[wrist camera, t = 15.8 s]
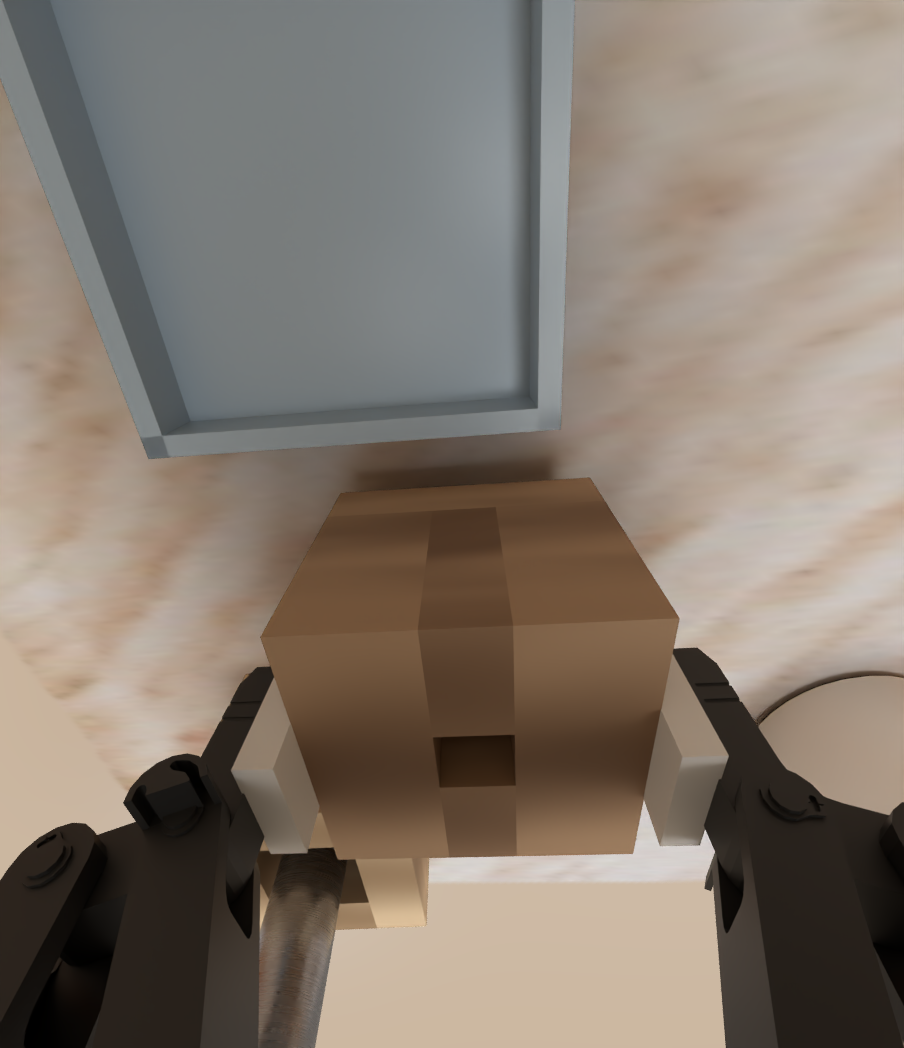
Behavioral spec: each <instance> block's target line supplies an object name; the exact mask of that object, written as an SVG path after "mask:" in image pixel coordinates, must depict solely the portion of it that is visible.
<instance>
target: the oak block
mask: <svg viewBox="0 0 904 1048" xmlns="http://www.w3.org/2000/svg"><path fill="white" fill-rule="evenodd" d="M249 675H250V674H246V675H245V677H244V679H243V681H244V680H245V679H246V678H247V677H248V676H249ZM243 681H242V682H243ZM230 705H231V703H230ZM230 705H229V706H230ZM221 722H222V720H221ZM330 847H333V844H332V841H331V839H330V836H329V833H328V830H327V827H326V824H325V821H324V819H323V816H322V813H321V810H320V807H319V810H318V814H317V818H316V822H315V826H314V829H313V833H312V837H311V841H310V844H309V848H330ZM309 848H308V849H309ZM281 857H282V854H271V853H270V851H269V849H268V847H267V845H266V843H265V841H264V840H263V843H262V846H261V848H260V851H259V854H258V857H257V860H256V862H257V864H258V867H259V872H260V929H261V925H262V922H263V918H264V915H265V911H266V908H267V905H268V901H269V898H270V894H271V891H272V887H273V884H274V881H275V877H276V874H277V870H278V867H279V863H280V860H281ZM428 875H429V858H397V859H348V860H347V866H346V872H345V877H344V883H343V889H342V895H341V900H340V906H339V912H338V918H337V923H336V929H335V930H342V929H343V930H344V929H368V928H394V927H417V926H418V927H419V926H426V925H427V899H428Z"/></svg>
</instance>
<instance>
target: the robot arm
mask: <svg viewBox="0 0 904 1048" xmlns="http://www.w3.org/2000/svg"><path fill="white" fill-rule="evenodd" d="M230 703H231V705H230V706H228V708H227V710H226V711H225V713H224V715H223V717H222V722H220V723H219V724H218V726H217V728H216V730H215V732H214V734H213V736H212V737H211V739H210V741H209V743H208V745H207V747H206V749H205V750H204V752H203V754H202V756H201V758H200V757H199V756H196V755H192V754H182V755H176V756H172V757H170V758H167V759H165V760H163V761H161V762H159V763H157V764H155V765H154V766H153V767H151V768H150V769H149V770H147V771H146V772H145V773H143V774H142V775H141V776H140V777H139V779H138V780H137V781H136V782H135V783H134V784H133V786H132V787H131V788H130V790H129V792H128V794H127V796H126V798H125V800H124V802H123V803H124V805H125V806H126V808H127V809H128V811H129V812H130V814H131V815H132V816H133V818H134V819H135V821H136V822H134V823H131V824H128V825H125V826H122V827H119V828H116V829H114V830H111V831H108V832H105V833H102V834H99V835H96V833H95V832H94V831H93V830H92V829H91V828H90V827H89V826H87V825H86V824H82V823H70V824H67V825H64V826H61V827H57V828H55V829H53V830H52V831H50V832H48V833H46V834H45V835H43V836H41V837H39V838H38V839H37V840H36V841H34V842H33V843H32V844H31V845H30V846H29V847H27V848H26V849H25V850H24V851H23V852H22V853H21V854H20V855H19V856H18V857H17V859H16V860H15V861H14V863H12V865H11V866H10V867H9V868H8V870H7V871H6V873H5V874H4V876H3V877H2V879H1V880H0V1048H258V1036H259V953H260V872H259V867H258V864H257V862H256V860H257V857H258V854H259V851H260V848H261V846H262V843H263V840H264V841H265V843H266V845H267V847H268V849H269V851H270V853H271V854H292V853H307V852H308V848H309V844H310V841H311V837H312V833H313V829H314V826H315V822H316V818H317V814H318V810H319V807H320V806H319V803H318V800H317V797H316V795H315V792H314V789H313V786H312V783H311V780H310V777H309V774H308V772H307V769H306V766H305V763H304V760H303V757H302V754H301V751H300V749H299V746H298V743H297V740H296V737H295V734H294V731H293V728H292V726H291V723H290V721H289V718H288V715H287V712H286V709H285V707H284V704H283V701H282V698H281V695H280V692H279V689H278V686H277V684H276V681H275V678H274V675H273V672H272V669H271V667H257V668H256V669H255V670H254V671H253V672H252V673H251V674H250V675H249V676H248V677H247V678H246V679H245V680H244V681H243V682H242V683H241V684H240V685H239V687H238V689H237V691H236V693H235V695H234V697H233V698H232V700H231V702H230ZM644 801H645V804H646V807H647V810H648V812H649V815H650V818H651V821H652V824H653V827H654V830H655V833H656V836H657V839H658V841H659V844H660V846H688V845H700V843H701V840H702V837H703V834H704V831H705V830H706V832H707V834H708V836H709V839H710V841H711V843H712V846H713V848H714V850H715V854H714V857H713V859H712V862H711V865H710V868H709V870H708V873H707V876H706V882H705V889H707V890H710V891H711V889H712V887H713V888H714V901H715V914H716V926H717V939H718V951H719V965H720V977H721V991H722V1004H723V1015H724V1016H723V1017H724V1029H725V1041H726V1042H725V1043H726V1048H904V1045H903V1042H904V802H902V803H900V804H899V805H898V806H897V807H896V808H895V809H893V810H892V812H891V814H890V815H886V814H883V813H879V812H875V811H871V810H867V809H864V808H860V807H856V806H852V805H848V804H844V803H841V802H838V801H835V800H832V799H829V798H827V797H825V796H823V795H822V794H821V793H820V792H819V791H818V790H817V789H816V788H815V787H814V786H813V785H812V784H811V783H810V782H808V781H807V780H805V779H804V778H802V777H801V776H799V775H798V774H796V773H794V772H792V771H789V770H787V769H786V768H785V766H784V765H783V764H782V763H781V761H780V760H779V758H778V757H777V755H776V754H775V752H774V751H773V749H772V748H771V746H770V745H769V743H768V741H767V740H766V738H765V737H764V735H763V734H762V732H761V731H760V729H759V728H758V726H757V725H756V723H755V722H754V720H753V718H752V717H751V715H750V714H749V712H748V711H747V709H746V708H745V706H744V705H743V703H742V702H740V701H739V697H738V695H737V694H736V692H735V691H734V689H733V688H732V686H729V682H728V680H727V679H726V677H725V675H724V674H723V672H722V671H721V669H720V668H719V666H718V665H717V663H716V662H714V661H713V660H712V659H711V658H709V657H708V656H707V655H706V654H704V653H703V652H702V651H701V650H699V649H698V648H679V649H673V654H672V659H671V664H670V669H669V674H668V679H667V684H666V689H665V694H664V699H663V704H662V709H661V712H660V717H659V722H658V727H657V732H656V737H655V742H654V747H653V752H652V757H651V762H650V767H649V772H648V778H647V783H646V788H645V793H644ZM901 1038H902V1039H901ZM902 1040H903V1042H902Z"/></svg>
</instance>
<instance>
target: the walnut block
mask: <svg viewBox="0 0 904 1048" xmlns="http://www.w3.org/2000/svg"><path fill="white" fill-rule="evenodd" d="M678 623H679V617H678V615H677V614H676V612H675V610H674V609H673V607H672V606H671V604H670V603H669V601H668V599H667V598H666V596H665V595H664V593H663V592H662V590H661V588H660V587H659V585H658V584H657V582H656V581H655V579H654V577H653V576H652V574H651V573H650V571H649V570H648V568H647V567H646V565H645V563H644V562H643V560H642V559H641V557H640V556H639V554H638V552H637V551H636V549H635V548H634V546H633V545H632V543H631V541H630V540H629V538H628V537H627V535H626V534H625V532H624V530H623V529H622V527H621V526H620V524H619V523H618V521H617V519H616V518H615V516H614V515H613V513H612V512H611V510H610V509H609V507H608V505H607V504H606V502H605V501H604V499H603V498H602V496H601V494H600V493H599V491H598V490H597V488H596V487H595V485H594V483H593V482H592V480H591V479H590V478H576V479H559V480H543V481H526V482H510V483H494V484H477V485H461V486H444V487H428V488H412V489H395V490H379V491H362V492H346V493H341V494H340V495H339V497H338V499H337V501H336V503H335V504H334V506H333V508H332V510H331V512H330V513H329V515H328V517H327V519H326V521H325V522H324V524H323V526H322V528H321V530H320V531H319V533H318V535H317V537H316V538H315V540H314V542H313V544H312V546H311V547H310V549H309V551H308V553H307V555H306V556H305V558H304V560H303V562H302V564H301V565H300V567H299V569H298V571H297V573H296V574H295V576H294V578H293V580H292V581H291V583H290V585H289V587H288V589H287V590H286V592H285V594H284V596H283V598H282V599H281V601H280V603H279V605H278V607H277V608H276V610H275V612H274V614H273V616H272V617H271V619H270V621H269V623H268V624H267V626H266V628H265V630H264V632H263V633H262V635H261V637H260V638H261V641H262V643H263V646H264V649H265V652H266V655H267V658H268V661H269V663H270V666H271V669H272V672H273V675H274V678H275V681H276V684H277V686H278V689H279V692H280V695H281V698H282V701H283V704H284V707H285V709H286V712H287V715H288V718H289V721H290V723H291V726H292V728H293V731H294V734H295V737H296V740H297V743H298V746H299V749H300V751H301V754H302V757H303V760H304V763H305V766H306V769H307V772H308V774H309V777H310V780H311V783H312V786H313V789H314V792H315V795H316V797H317V800H318V803H319V806H320V810H321V813H322V816H323V819H324V821H325V824H326V827H327V830H328V833H329V836H330V839H331V841H332V844H333V847H334V850H335V853H336V856H337V859H338V860H348V859H397V858H447V857H496V856H546V855H596V854H633V851H634V846H635V841H636V836H637V831H638V826H639V820H640V815H641V810H642V805H643V800H644V793H645V788H646V783H647V778H648V772H649V767H650V762H651V757H652V752H653V747H654V742H655V737H656V732H657V727H658V722H659V717H660V712H661V709H662V704H663V699H664V694H665V689H666V684H667V679H668V674H669V669H670V664H671V659H672V654H673V649H674V644H675V639H676V634H677V629H678Z"/></svg>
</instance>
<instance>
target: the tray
mask: <svg viewBox="0 0 904 1048" xmlns="http://www.w3.org/2000/svg"><path fill="white" fill-rule="evenodd" d="M574 11H575V0H0V79H1V82H2V84H3V87H4V89H5V92H6V95H7V97H8V100H9V102H10V105H11V107H12V110H13V113H14V115H15V118H16V120H17V123H18V125H19V128H20V130H21V133H22V136H23V138H24V141H25V143H26V146H27V148H28V151H29V154H30V156H31V159H32V161H33V164H34V166H35V169H36V171H37V174H38V177H39V179H40V182H41V184H42V187H43V189H44V192H45V195H46V197H47V200H48V202H49V205H50V207H51V210H52V213H53V215H54V218H55V220H56V223H57V225H58V228H59V230H60V233H61V236H62V238H63V241H64V243H65V246H66V248H67V251H68V254H69V256H70V259H71V261H72V264H73V266H74V269H75V271H76V274H77V277H78V279H79V282H80V284H81V287H82V289H83V292H84V295H85V297H86V300H87V302H88V305H89V307H90V310H91V312H92V315H93V318H94V320H95V323H96V325H97V328H98V330H99V333H100V336H101V338H102V341H103V343H104V346H105V348H106V351H107V354H108V356H109V359H110V361H111V364H112V366H113V369H114V371H115V374H116V377H117V379H118V382H119V384H120V387H121V389H122V392H123V395H124V397H125V400H126V402H127V405H128V407H129V410H130V412H131V415H132V418H133V420H134V423H135V425H136V428H137V430H138V433H139V436H140V438H141V441H142V443H143V446H144V448H145V451H146V454H147V456H148V459H155V458H169V457H183V456H197V455H211V454H225V453H239V452H253V451H267V450H281V449H295V448H309V447H323V446H337V445H351V444H366V443H380V442H394V441H408V440H422V439H436V438H450V437H464V436H478V435H492V434H506V433H520V432H534V431H548V430H561V400H562V370H563V341H564V311H565V281H566V251H567V221H568V191H569V161H570V131H571V101H572V71H573V41H574Z"/></svg>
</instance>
